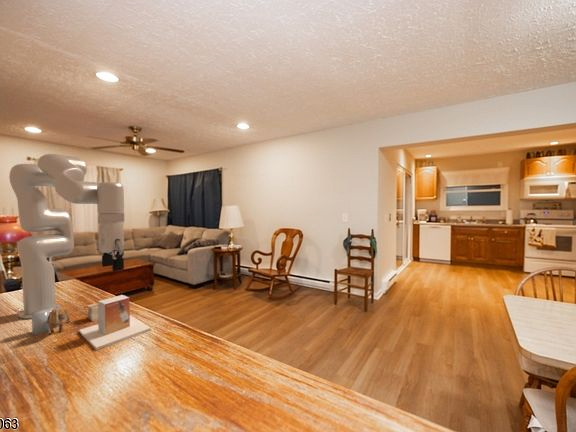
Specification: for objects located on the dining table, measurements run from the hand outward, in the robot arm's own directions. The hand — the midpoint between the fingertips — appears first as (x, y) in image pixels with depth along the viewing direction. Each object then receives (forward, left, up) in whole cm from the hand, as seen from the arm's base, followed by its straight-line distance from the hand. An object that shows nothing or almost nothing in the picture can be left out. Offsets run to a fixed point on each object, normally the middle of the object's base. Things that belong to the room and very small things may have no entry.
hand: (112, 268), depth 90 cm
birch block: (-18, 0, -22) cm, 29 cm away
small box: (0, 0, -22) cm, 22 cm away
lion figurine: (-17, -11, -23) cm, 30 cm away
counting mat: (0, 0, -22) cm, 22 cm away
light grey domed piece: (-20, -16, -22) cm, 34 cm away
